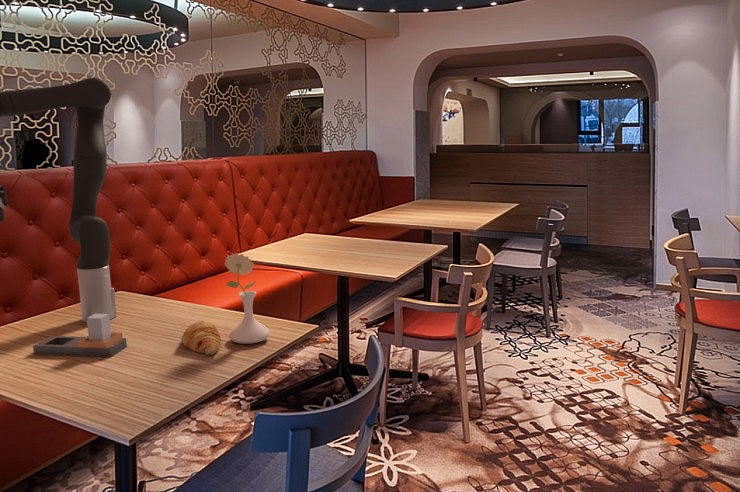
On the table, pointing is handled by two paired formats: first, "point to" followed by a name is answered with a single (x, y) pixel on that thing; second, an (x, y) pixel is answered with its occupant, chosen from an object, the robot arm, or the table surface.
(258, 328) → the flower in vase
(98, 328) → the peg
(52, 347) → the socket
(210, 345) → the croissant
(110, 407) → the table surface
